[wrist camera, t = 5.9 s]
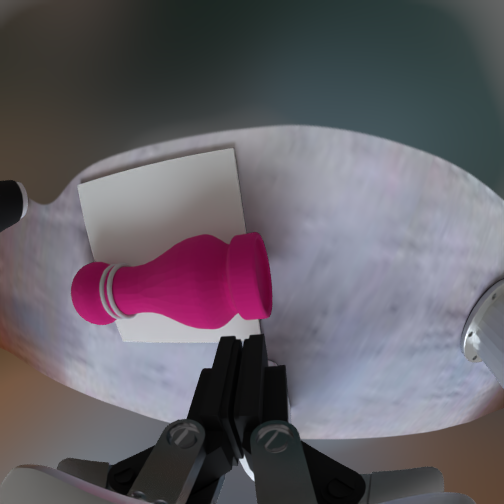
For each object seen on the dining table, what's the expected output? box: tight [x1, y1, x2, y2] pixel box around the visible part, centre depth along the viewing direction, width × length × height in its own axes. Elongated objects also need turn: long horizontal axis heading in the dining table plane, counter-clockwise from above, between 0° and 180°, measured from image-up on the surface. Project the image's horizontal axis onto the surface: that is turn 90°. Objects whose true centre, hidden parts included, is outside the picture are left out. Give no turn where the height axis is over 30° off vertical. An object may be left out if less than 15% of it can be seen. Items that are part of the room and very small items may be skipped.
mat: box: [77, 148, 261, 343], centre depth 25 cm, size 16×18×1 cm
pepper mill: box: [71, 232, 272, 329], centre depth 22 cm, size 7×7×20 cm
